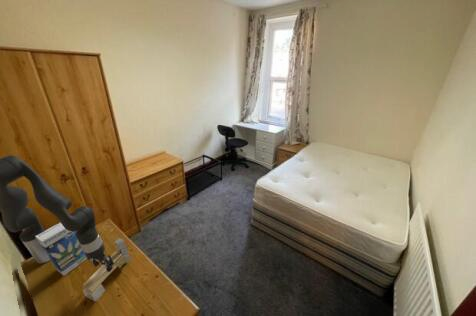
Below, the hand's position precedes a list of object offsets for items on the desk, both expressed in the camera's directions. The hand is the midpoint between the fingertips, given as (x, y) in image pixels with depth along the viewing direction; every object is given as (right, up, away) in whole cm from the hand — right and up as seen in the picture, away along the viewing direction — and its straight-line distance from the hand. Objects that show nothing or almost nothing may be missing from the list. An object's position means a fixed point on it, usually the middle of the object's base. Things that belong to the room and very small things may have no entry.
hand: (103, 267), depth 97 cm
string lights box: (-25, -5, +13) cm, 29 cm away
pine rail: (0, -4, +2) cm, 4 cm away
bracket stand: (0, -8, +5) cm, 9 cm away
